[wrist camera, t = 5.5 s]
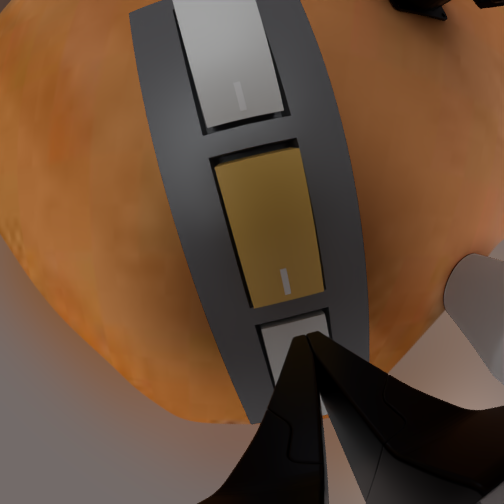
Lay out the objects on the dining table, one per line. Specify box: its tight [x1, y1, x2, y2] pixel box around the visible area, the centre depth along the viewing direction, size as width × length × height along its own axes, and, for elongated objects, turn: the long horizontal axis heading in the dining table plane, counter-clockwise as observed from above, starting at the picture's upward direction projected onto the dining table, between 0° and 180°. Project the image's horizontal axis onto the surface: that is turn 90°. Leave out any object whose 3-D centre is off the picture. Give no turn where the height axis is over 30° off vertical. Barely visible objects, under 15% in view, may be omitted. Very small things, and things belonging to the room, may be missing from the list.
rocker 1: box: [172, 0, 284, 128], centre depth 10 cm, size 4×7×2 cm, turn 14°
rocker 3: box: [261, 309, 329, 415], centre depth 16 cm, size 4×7×2 cm, turn 14°
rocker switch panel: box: [129, 0, 369, 424], centre depth 16 cm, size 9×28×5 cm, turn 14°
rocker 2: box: [215, 147, 324, 309], centre depth 13 cm, size 4×7×2 cm, turn 14°
